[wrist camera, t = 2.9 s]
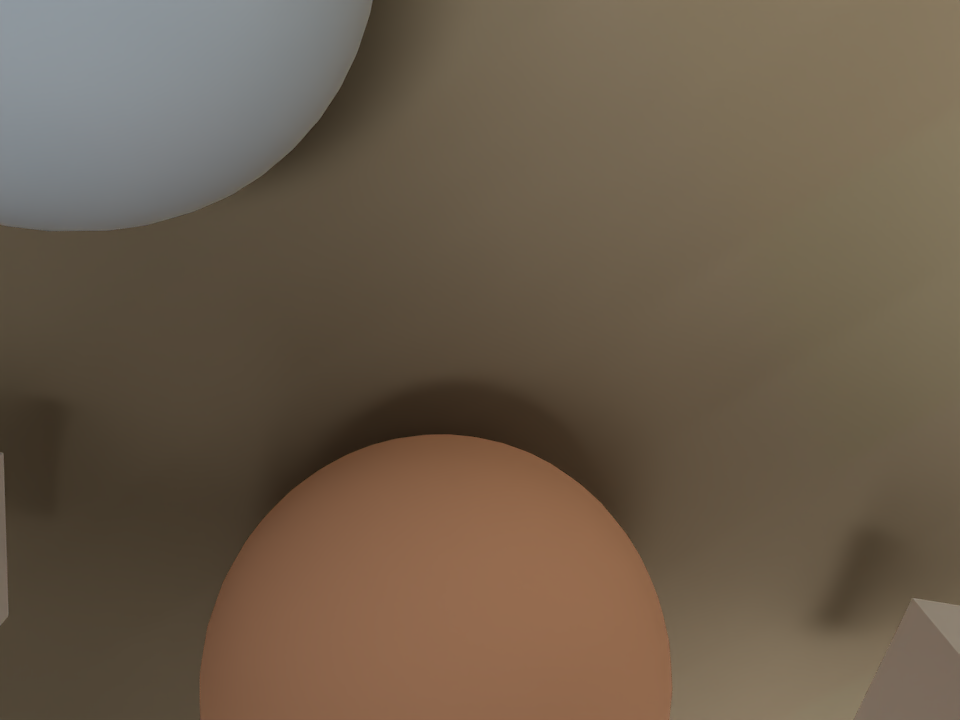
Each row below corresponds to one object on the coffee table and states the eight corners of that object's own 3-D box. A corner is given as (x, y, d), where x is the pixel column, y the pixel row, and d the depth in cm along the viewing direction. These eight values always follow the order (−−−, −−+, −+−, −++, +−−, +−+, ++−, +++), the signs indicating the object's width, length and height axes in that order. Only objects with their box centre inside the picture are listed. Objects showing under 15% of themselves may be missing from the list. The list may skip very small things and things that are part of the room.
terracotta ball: (249, 647, 14) (106, 1048, 8) (284, 337, 12) (121, 587, 6) (574, 691, 14) (648, 1094, 9) (661, 402, 12) (834, 687, 7)
